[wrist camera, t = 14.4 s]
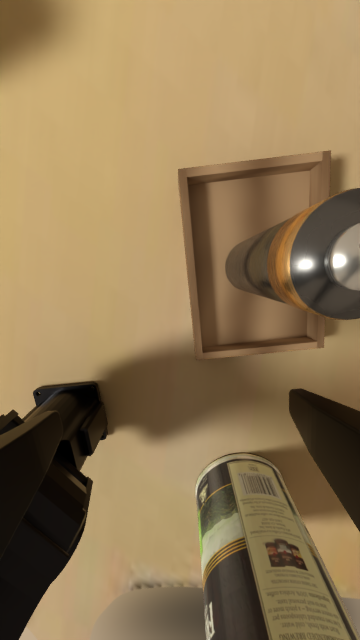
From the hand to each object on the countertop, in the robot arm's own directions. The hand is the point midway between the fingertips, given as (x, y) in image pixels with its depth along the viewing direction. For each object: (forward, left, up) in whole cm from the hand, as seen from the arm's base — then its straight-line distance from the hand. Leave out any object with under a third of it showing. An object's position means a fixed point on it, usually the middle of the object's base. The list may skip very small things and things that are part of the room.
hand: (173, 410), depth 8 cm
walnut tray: (+7, +5, -13) cm, 16 cm away
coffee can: (+5, -20, -13) cm, 24 cm away
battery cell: (+7, +5, -12) cm, 15 cm away
